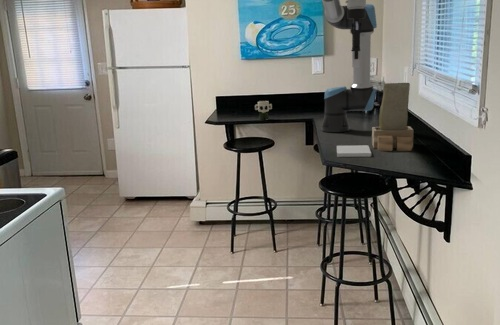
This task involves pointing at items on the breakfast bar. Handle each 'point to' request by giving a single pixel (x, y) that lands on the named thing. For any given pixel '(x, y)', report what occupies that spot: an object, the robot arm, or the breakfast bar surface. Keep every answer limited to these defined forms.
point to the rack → (393, 133)
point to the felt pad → (353, 151)
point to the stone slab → (394, 106)
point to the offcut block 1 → (385, 143)
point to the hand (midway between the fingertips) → (355, 67)
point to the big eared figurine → (263, 109)
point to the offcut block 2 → (403, 143)
